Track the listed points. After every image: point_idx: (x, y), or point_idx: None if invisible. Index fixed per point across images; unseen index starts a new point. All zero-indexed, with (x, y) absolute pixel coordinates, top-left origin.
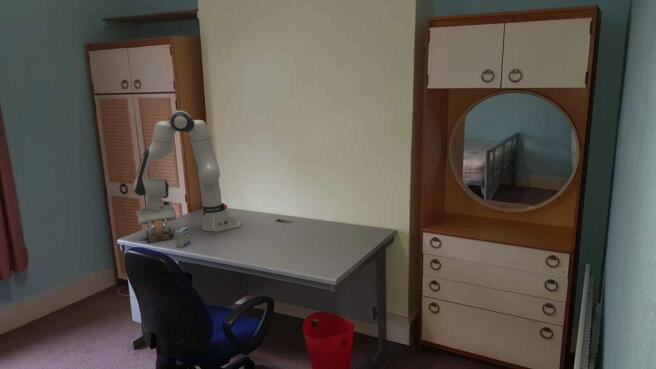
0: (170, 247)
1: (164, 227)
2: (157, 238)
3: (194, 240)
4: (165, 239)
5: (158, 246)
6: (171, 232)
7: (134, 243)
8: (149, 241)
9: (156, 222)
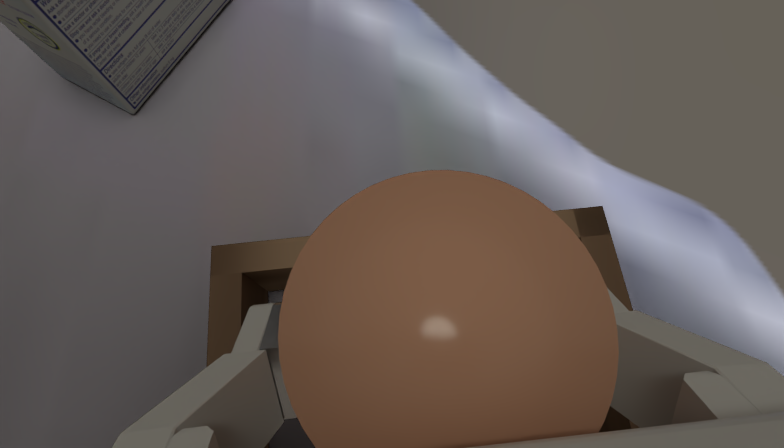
0: (288, 12)
1: None
2: None
3: (3, 126)
4: None
5: (415, 82)
6: (207, 358)
7: (769, 311)
8: None
9: (476, 181)
